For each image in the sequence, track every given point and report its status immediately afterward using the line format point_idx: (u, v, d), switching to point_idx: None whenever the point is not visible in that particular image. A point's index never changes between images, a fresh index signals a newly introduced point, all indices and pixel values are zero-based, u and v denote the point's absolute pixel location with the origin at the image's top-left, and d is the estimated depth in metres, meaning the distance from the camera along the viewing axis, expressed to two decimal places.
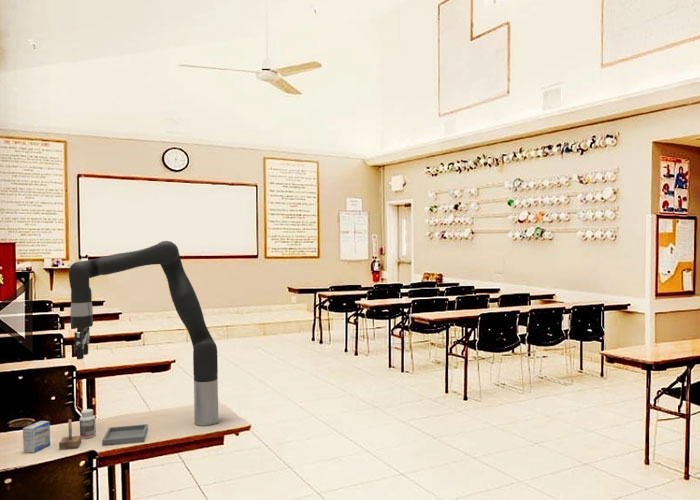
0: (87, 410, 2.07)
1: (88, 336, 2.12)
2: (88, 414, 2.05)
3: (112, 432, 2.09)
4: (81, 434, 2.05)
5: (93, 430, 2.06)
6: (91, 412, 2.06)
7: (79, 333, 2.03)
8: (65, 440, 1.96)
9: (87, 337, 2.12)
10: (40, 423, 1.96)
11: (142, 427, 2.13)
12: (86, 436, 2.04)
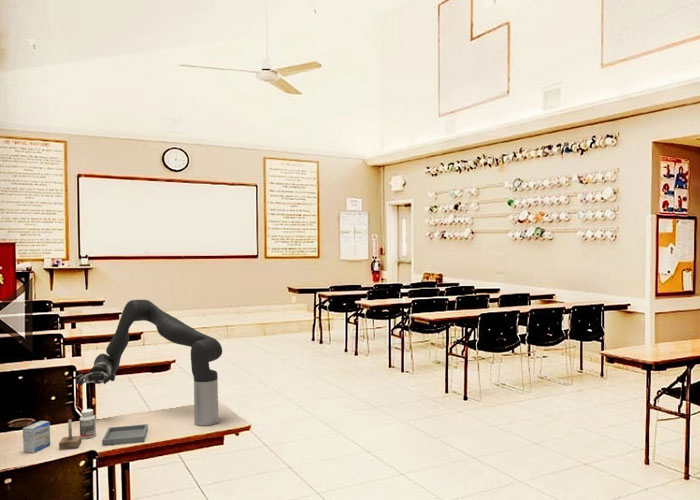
0: (87, 410, 2.07)
1: (102, 373, 2.25)
2: (88, 414, 2.05)
3: (112, 432, 2.09)
4: (81, 434, 2.05)
5: (93, 430, 2.06)
6: (91, 412, 2.06)
7: None
8: (65, 440, 1.96)
9: (101, 374, 2.24)
10: (40, 423, 1.96)
11: (142, 427, 2.13)
12: (86, 436, 2.04)
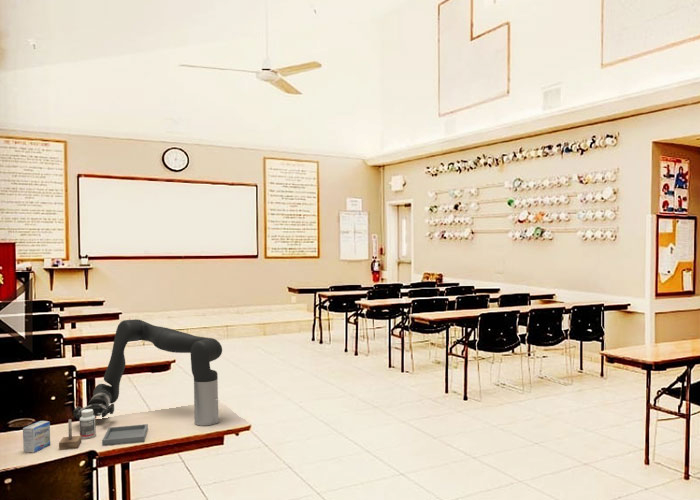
0: (87, 410, 2.07)
1: (101, 405, 2.20)
2: (88, 414, 2.05)
3: (112, 432, 2.09)
4: (81, 434, 2.05)
5: (93, 430, 2.06)
6: (91, 412, 2.06)
7: None
8: (65, 440, 1.96)
9: (100, 406, 2.20)
10: (40, 423, 1.96)
11: (142, 427, 2.13)
12: (86, 436, 2.04)
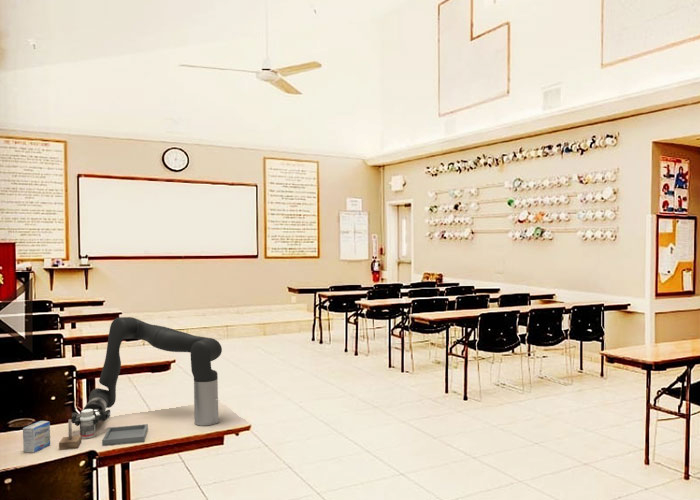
0: (87, 410, 2.07)
1: (95, 411, 2.12)
2: (88, 414, 2.05)
3: (112, 432, 2.09)
4: (81, 434, 2.05)
5: (93, 430, 2.06)
6: (91, 412, 2.06)
7: None
8: (65, 440, 1.96)
9: (94, 412, 2.12)
10: (40, 423, 1.96)
11: (142, 427, 2.13)
12: (86, 436, 2.04)
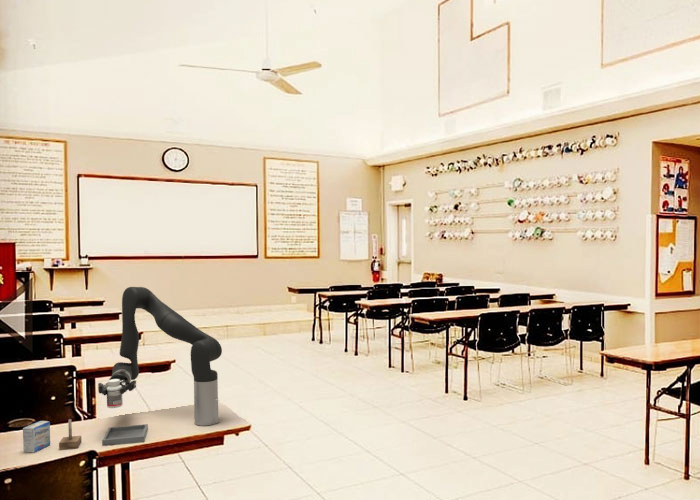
0: (114, 380, 2.05)
1: (122, 381, 2.11)
2: (115, 384, 2.04)
3: (112, 432, 2.09)
4: (108, 404, 2.03)
5: (120, 400, 2.05)
6: (118, 382, 2.05)
7: None
8: (65, 440, 1.96)
9: (120, 382, 2.10)
10: (40, 423, 1.96)
11: (142, 427, 2.13)
12: (113, 405, 2.03)
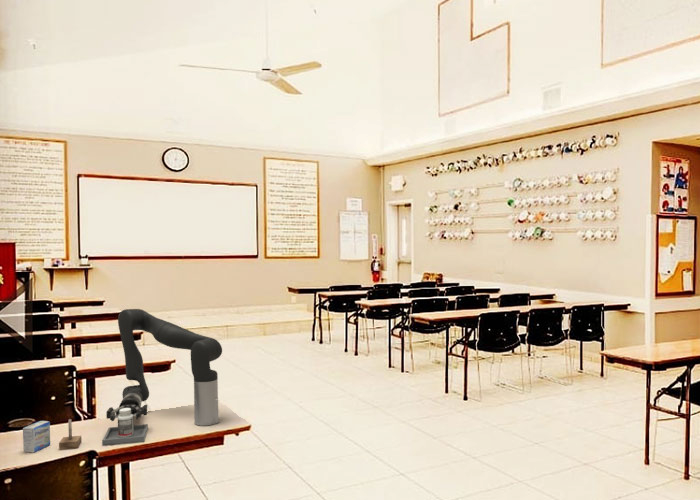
0: (125, 409, 2.06)
1: (134, 406, 2.11)
2: (126, 413, 2.04)
3: (112, 432, 2.09)
4: (119, 433, 2.03)
5: (131, 429, 2.05)
6: (129, 411, 2.05)
7: None
8: (65, 440, 1.96)
9: (133, 407, 2.11)
10: (40, 423, 1.96)
11: (142, 427, 2.13)
12: (124, 435, 2.03)
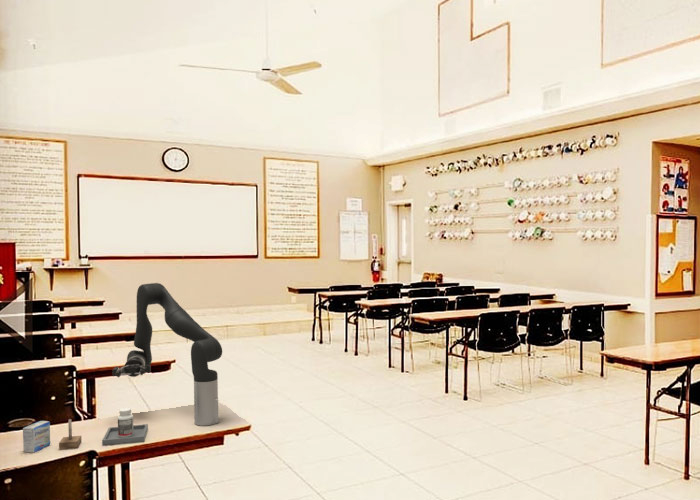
0: (125, 409, 2.06)
1: (138, 365, 2.25)
2: (126, 413, 2.04)
3: (112, 432, 2.09)
4: (119, 433, 2.03)
5: (131, 429, 2.05)
6: (129, 411, 2.05)
7: None
8: (65, 440, 1.96)
9: (137, 366, 2.25)
10: (40, 423, 1.96)
11: (142, 427, 2.13)
12: (124, 435, 2.03)
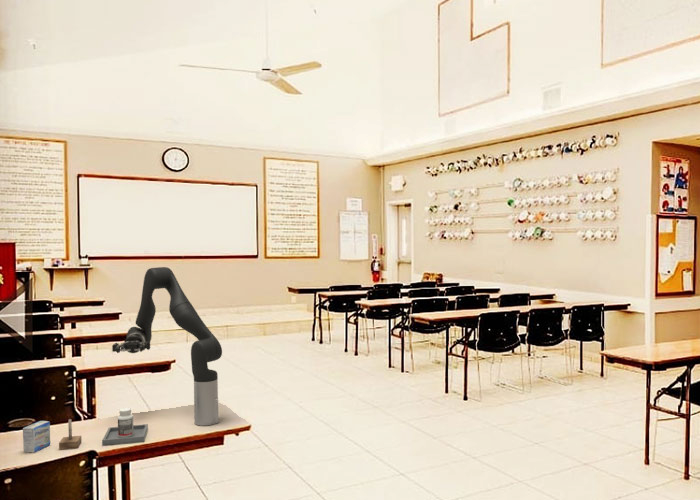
0: (125, 409, 2.06)
1: (138, 341, 2.26)
2: (126, 413, 2.04)
3: (112, 432, 2.09)
4: (119, 433, 2.03)
5: (131, 429, 2.05)
6: (129, 411, 2.05)
7: None
8: (65, 440, 1.96)
9: (137, 342, 2.26)
10: (40, 423, 1.96)
11: (142, 427, 2.13)
12: (124, 435, 2.03)
